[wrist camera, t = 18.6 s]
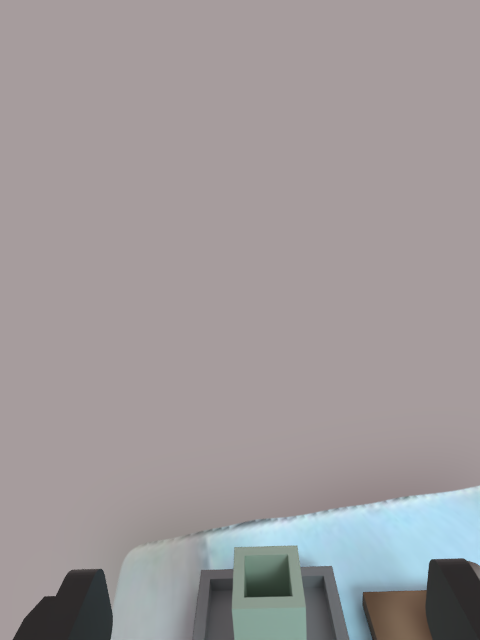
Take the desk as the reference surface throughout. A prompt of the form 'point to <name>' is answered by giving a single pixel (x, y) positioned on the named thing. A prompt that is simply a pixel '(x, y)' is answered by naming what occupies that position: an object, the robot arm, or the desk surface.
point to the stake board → (399, 613)
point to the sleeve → (268, 594)
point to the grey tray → (320, 599)
